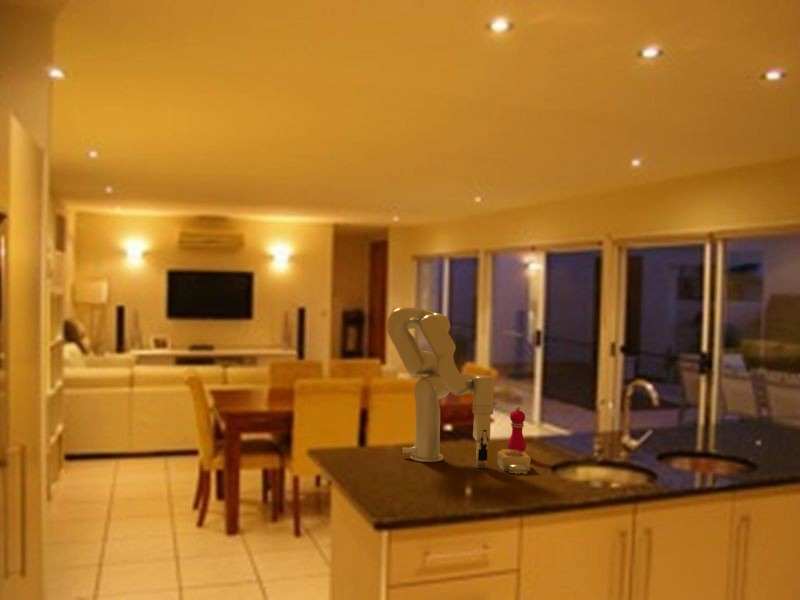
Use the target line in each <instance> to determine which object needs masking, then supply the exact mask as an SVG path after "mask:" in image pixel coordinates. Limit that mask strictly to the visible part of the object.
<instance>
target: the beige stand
mask: <svg viewBox="0 0 800 600" xmlns="http://www.w3.org/2000/svg"><path fill="white" fill-rule="evenodd" d="M498 465H499V466H498ZM497 466H498V468H499V469H502V470H503V471H502V470H501V471H502V472H508V474H510V473H515V474H514V475H521V474H520V473H523V474H522V475H527V474H528V473H529V472H528V471H530V472H531V456H529V455H528V453H526V452H525V451H523V452H520V451H519V450H517V449H508V448H501V450H500V451H499V450H498V451H497ZM518 473H519V474H518Z"/></svg>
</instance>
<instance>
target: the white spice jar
mask: <svg viewBox="0 0 800 600" xmlns="http://www.w3.org/2000/svg"><path fill="white" fill-rule="evenodd" d="M487 439H488V437H487ZM481 441H483V439H481ZM481 444H482V443H481ZM475 449H476V450H475V452H476V454H475V468H476V469H478V468H482V469H481V470H484V469H483V468H486V469H487V468H488V460H487V461H479V460H478V449H479V441H478V442H477V441H476V447H475Z"/></svg>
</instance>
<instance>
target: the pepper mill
mask: <svg viewBox="0 0 800 600" xmlns="http://www.w3.org/2000/svg"><path fill="white" fill-rule="evenodd" d="M509 419H510V421H511V423H510V426H511V429H512V430H511V435H510V437H509V438H508V442H507V449H517V450H519V451H520V452H525V450H526V448H527V443H526V440H525V438H524V435H523V428H524V425H525V423H524V421H525V420H526V413H524V411H521V407H520V406H515V410H513V411H511V412H510V413H509Z"/></svg>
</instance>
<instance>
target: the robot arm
mask: <svg viewBox="0 0 800 600" xmlns="http://www.w3.org/2000/svg"><path fill="white" fill-rule="evenodd" d="M450 328H451V323H450V320H449V318H448V317H447V316H445V315H444V314H443V313H438V312H434V311H431V310H428V309H424V308H420V307H414V306H413V307H412V306H411V307H406V306H405V307H404V306H403V307H398V308H396V309H394V310H393V311H392V312H391V313H390V315H389V316H388V319H387V322H386V329H387V333H388V337H389V338H390V340H391V342H392V345H394V347H395V350H396V352H397V354H398V356H399V358H400V359H401V361H402V364H403V366H404V368H405V370H406V371H407V373H408V374H409V375H410V376H413V377H419V376H420V377H421V376H422V377H421V378H419V379H418V380H417V381H416V382H415V385H414V387H413V394H414V404H415V423H414V424H415V425H414V426H415V429H414V430H415V431H414V445H413V446H411V447H402V453H404V454H405V453H406V454H410V459H411V460H413V461H417V462H423V463H436V462H441V461H443V459H444V455H443V454H441V453H440V442H441V441H440V440H441V438H440V437H441V432H440V431H441V408H440V402H439V400H441V399H444V398H446V397H448V395H449V394H450V393H451V394H452V395H455V396H463V395H468V394H472V414H474V415H473V416H474V417H473V429H472V438H473V439H474V440H475V441H476V443H477V442H478V441H479V449H478V460H479V461H487V462H488V442H490V440H491V415H494V392H495V391H494V390H495V386H494V385H495V379H494V377H493V376H491V375H483V374H482V375H478V374H474V373H472V372H471V373H469V372H466V373H461V372H460V371H459V369H458V367H457V365H456V363H455V359H454V354H455V351H456V344H455V342H454V340H453V339H452V337H451V335H450V334H449V331H450ZM411 329H412V330H413V329H416V330H421V332H422V333H421V334H423V336H424V338H425V340H426V342H427V343H428V346H429V347H430V349H431V351H428V350H422V349H421V347H420V346H419V344H418V342H417V339H416V338H415V336H414V335H413V334H412V333H411V332H410V331H409V330H411ZM487 437H488V439H487ZM481 439H483V441H481ZM481 443H482V444H481Z"/></svg>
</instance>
